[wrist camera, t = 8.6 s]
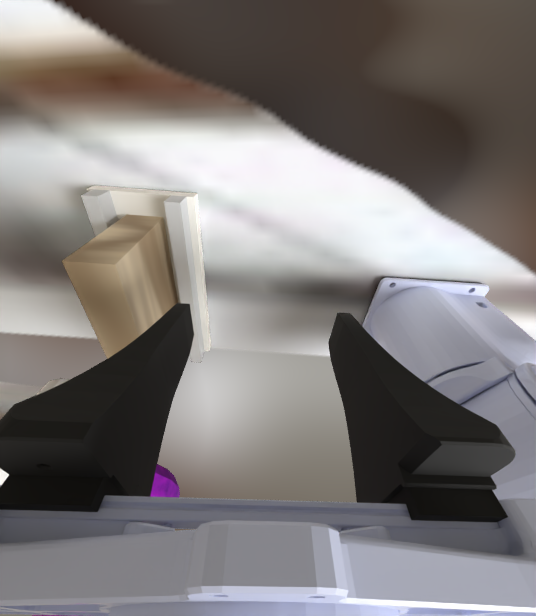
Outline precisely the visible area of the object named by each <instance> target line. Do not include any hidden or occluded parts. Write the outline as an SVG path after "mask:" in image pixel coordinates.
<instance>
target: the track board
mask: <svg viewBox="0 0 536 616" xmlns="http://www.w3.org/2000/svg"><path fill="white" fill-rule="evenodd" d="M81 198H82V200H83V203H84V206H85V209H86V212H87V215H88V217H89V220H90V223H91V226H92V229H93V231H94V234H95V237H96V236H97V235H99V234H100V233H102V232H103V231H104V230H106V229H107V228H109V227H110V226H111V225H113V224H114V223H116V222H117V221H118V220H120V219H121V218H123V217H124V216H125V215H127V214H128V215H141V216H155V217H164V223H165V229H166V235H167V240H168V246H169V252H170V257H171V263H172V269H173V274H174V280H175V286H176V291H177V297H178V303H185V304H190V309H191V316H192V323H193V330H194V338H193V343H192V347H191V351H190V359H191V362H200V363H201V362H202V358H203V354H204V351H210V347H211V338H210V327H209V316H208V305H207V294H206V283H205V272H204V261H203V250H202V238H201V227H200V216H199V205H198V194H197V193H187V192H174V191H161V190H148V189H136V188H123V187H110V186H97V185H94V186H92V187H89V188H87V193H85V194H82V195H81Z"/></svg>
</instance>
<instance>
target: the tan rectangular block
mask: <svg viewBox="0 0 536 616" xmlns="http://www.w3.org/2000/svg"><path fill="white" fill-rule="evenodd" d="M62 263H63V265H64V267H65V269H66V271H67V274H68V276H69V278H70V280H71V282H72V284H73V286H74V289H75V291H76V293H77V295H78V297H79V299H80V301H81V304H82V306H83V308H84V310H85V312H86V314H87V316H88V319H89V321H90V323H91V325H92V327H93V329H94V331H95V334H96V336H97V338H98V340H99V342H100V344H101V346H102V349H103V351H104V353H105V355H106V357H107V359H108V358H109V357H111V356H113V355H114V354H116V353H117V352H119V351H120V350H122V349H123V348H124V347H126V346H127V345H129V344H130V343H131V342H133V341H134V340H135V339H136V338H138V337H139V336H140V335H141V334H143V333H144V332H145V331H146V330H147V329H149V328H150V327H151V326H152V325H153V324H154V323H155V322H157V321H158V320H159V319H160V318H161V317H162V316H163V315H164V314H165V313H166V312H167V311H169V310H170V309H171V308H172V307H173V306H174V305H175V304H176V303H178V297H177V291H176V286H175V280H174V274H173V269H172V263H171V257H170V252H169V246H168V240H167V235H166V229H165V223H164V217H155V216H141V215H128V214H127V215H125V216H124V217H123V218H121V219H120V220H118V221H117V222H116V223H114V224H113V225H111V226H110V227H109V228H107V229H106V230H104V231H103V232H102V233H100V234H99V235H97V236H96V237H95V238H93V239H92V240H90V241H89V242H88V243H86V244H85V245H83V246H82V247H81V248H79V249H78V250H76V251H75V252H74V253H72V254H71V255H69V256H68V257H67V258H65V259H64V260H62Z"/></svg>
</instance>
